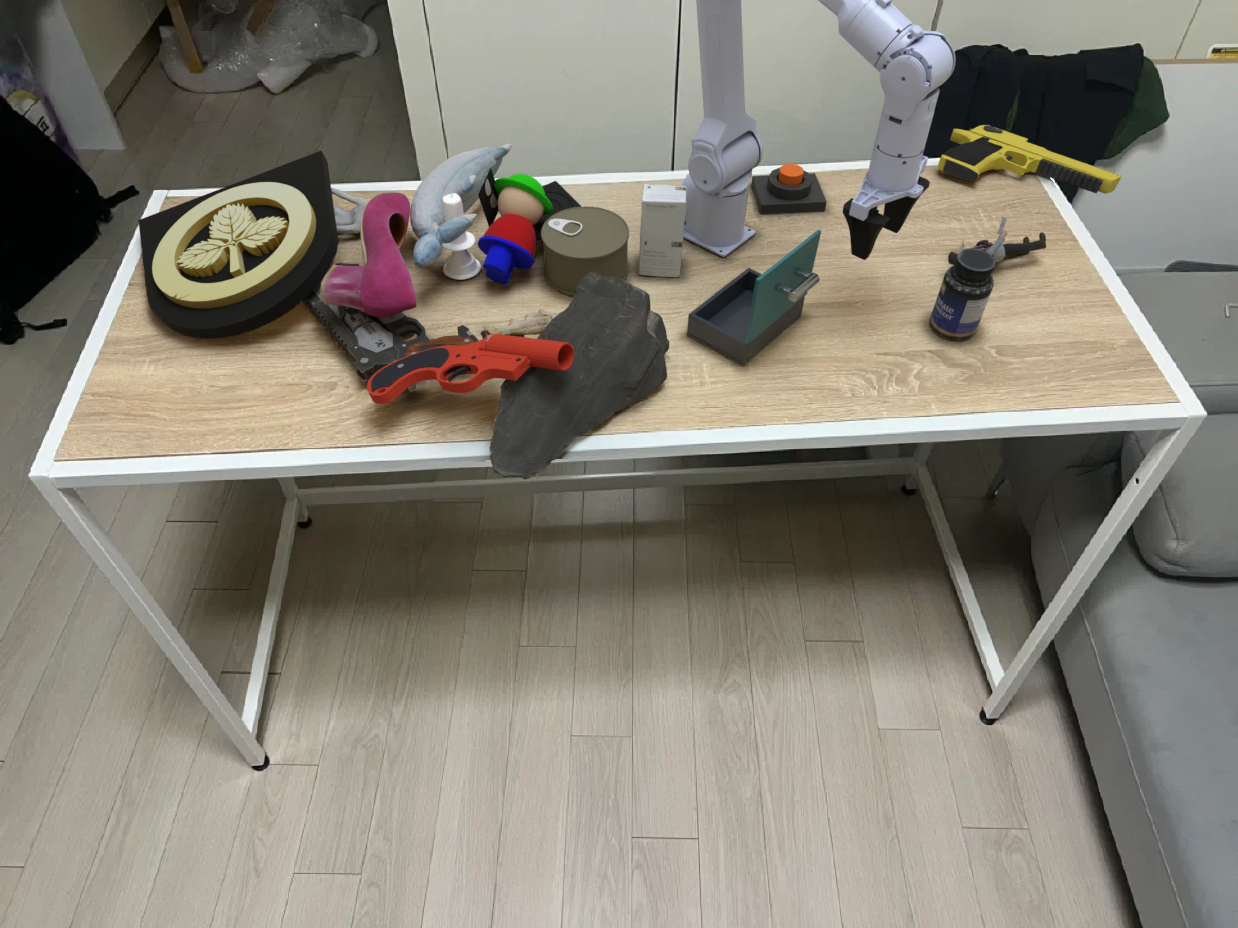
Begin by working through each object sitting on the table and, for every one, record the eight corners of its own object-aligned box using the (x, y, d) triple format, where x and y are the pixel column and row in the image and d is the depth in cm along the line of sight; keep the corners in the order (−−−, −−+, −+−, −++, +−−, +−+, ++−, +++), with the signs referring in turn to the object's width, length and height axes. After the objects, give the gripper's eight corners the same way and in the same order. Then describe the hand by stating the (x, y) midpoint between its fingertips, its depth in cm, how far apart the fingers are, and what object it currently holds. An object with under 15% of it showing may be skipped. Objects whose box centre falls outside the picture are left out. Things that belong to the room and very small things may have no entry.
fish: (567, 301, 125) (577, 328, 122) (567, 310, 126) (577, 337, 124) (481, 320, 123) (490, 348, 120) (483, 328, 124) (491, 357, 122)
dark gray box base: (686, 335, 123) (688, 314, 120) (745, 288, 130) (748, 267, 127) (743, 366, 119) (746, 345, 116) (801, 316, 126) (805, 295, 123)
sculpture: (537, 212, 120) (525, 157, 141) (500, 165, 116) (494, 115, 137) (429, 291, 124) (433, 227, 145) (390, 248, 120) (400, 188, 141)
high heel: (386, 177, 132) (470, 186, 131) (393, 234, 137) (474, 243, 136) (309, 258, 112) (408, 270, 111) (321, 321, 118) (415, 333, 116)
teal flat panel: (755, 278, 109) (781, 292, 107) (818, 229, 115) (843, 241, 114) (744, 342, 116) (768, 356, 115) (804, 292, 123) (827, 305, 121)
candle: (455, 253, 135) (443, 179, 126) (487, 262, 133) (478, 188, 124) (436, 274, 131) (422, 200, 122) (469, 284, 130) (458, 209, 121)
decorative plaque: (132, 354, 117) (128, 206, 134) (152, 374, 121) (146, 228, 138) (343, 274, 118) (314, 137, 134) (358, 297, 121) (327, 161, 138)
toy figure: (464, 276, 132) (501, 184, 135) (527, 297, 132) (563, 204, 135) (455, 249, 123) (495, 151, 126) (522, 271, 123) (560, 173, 126)
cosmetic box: (638, 276, 131) (639, 201, 122) (639, 257, 134) (641, 182, 125) (681, 278, 131) (686, 203, 122) (682, 258, 134) (687, 184, 125)
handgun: (1096, 209, 137) (1126, 167, 145) (930, 149, 146) (966, 112, 155) (1087, 229, 139) (1117, 186, 148) (924, 169, 149) (960, 132, 157)
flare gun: (361, 406, 111) (440, 337, 119) (505, 435, 98) (582, 355, 107) (350, 385, 109) (431, 316, 118) (495, 411, 96) (574, 332, 105)
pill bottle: (920, 317, 125) (941, 249, 117) (960, 308, 127) (984, 240, 118) (944, 346, 122) (967, 277, 113) (985, 337, 123) (1011, 268, 115)
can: (605, 308, 127) (604, 266, 122) (528, 284, 130) (524, 242, 125) (642, 260, 134) (643, 219, 129) (568, 238, 137) (566, 197, 132)
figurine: (263, 247, 140) (392, 254, 139) (245, 235, 135) (380, 243, 133) (269, 183, 141) (398, 190, 139) (252, 169, 135) (386, 176, 134)
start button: (780, 187, 141) (782, 176, 140) (776, 174, 143) (777, 163, 142) (804, 186, 141) (806, 175, 140) (799, 173, 143) (800, 162, 142)
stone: (568, 286, 122) (431, 450, 108) (611, 247, 112) (465, 423, 98) (655, 368, 126) (533, 537, 112) (705, 338, 115) (576, 520, 101)
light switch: (496, 206, 136) (555, 179, 139) (501, 228, 140) (559, 202, 142) (528, 241, 131) (589, 213, 133) (533, 264, 134) (592, 236, 137)
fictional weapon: (389, 261, 135) (290, 296, 128) (386, 239, 132) (285, 274, 126) (490, 367, 120) (384, 412, 113) (488, 345, 117) (379, 390, 111)
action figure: (1055, 208, 129) (966, 222, 124) (1062, 257, 129) (974, 273, 125) (1008, 222, 137) (923, 236, 133) (1015, 269, 138) (931, 284, 134)
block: (760, 214, 142) (762, 194, 139) (750, 185, 147) (753, 165, 144) (825, 211, 142) (828, 190, 139) (813, 182, 147) (817, 162, 145)
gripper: (897, 183, 104) (872, 281, 114) (960, 132, 111) (931, 229, 121) (843, 160, 107) (823, 258, 117) (907, 113, 114) (884, 209, 124)
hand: (875, 242), depth 119 cm, fingers open, 7 cm apart
